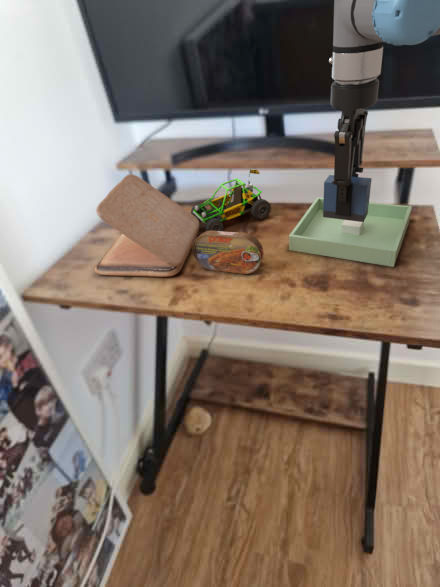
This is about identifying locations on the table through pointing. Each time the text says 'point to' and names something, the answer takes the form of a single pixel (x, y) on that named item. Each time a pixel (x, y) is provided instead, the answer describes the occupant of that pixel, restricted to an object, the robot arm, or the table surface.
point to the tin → (228, 251)
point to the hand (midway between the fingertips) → (345, 209)
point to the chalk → (352, 227)
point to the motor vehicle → (232, 205)
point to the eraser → (357, 203)
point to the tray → (365, 247)
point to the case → (145, 231)
